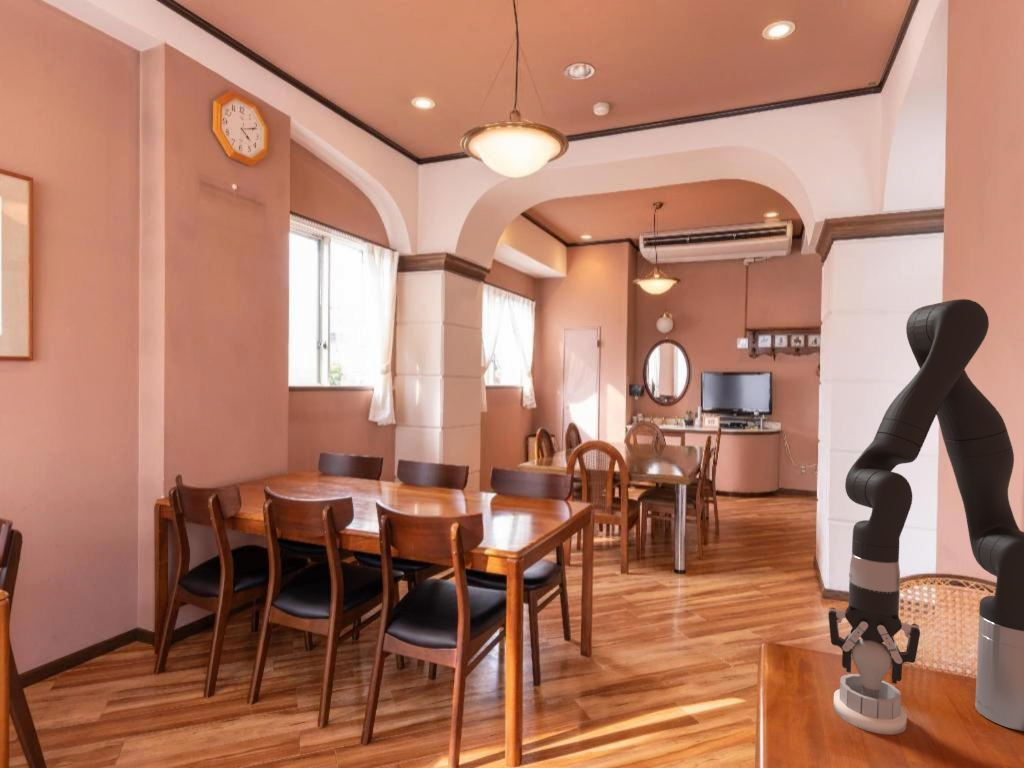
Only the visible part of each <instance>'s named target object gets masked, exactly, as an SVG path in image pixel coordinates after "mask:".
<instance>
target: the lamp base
mask: <svg viewBox="0 0 1024 768" xmlns="http://www.w3.org/2000/svg"><path fill="white" fill-rule="evenodd" d="M832 706H833V710H834V711H835V713H836V714H837V715H838V717H839V718H841V719H842V720H844V721H845V722H846V723H848V724H850V725H851V726H853V727H857V728H858V729H861V730H863V731H868V732H871V733H874V734H878V735H891V736H892V735H898V734H902V733H903V732H904V731H905V730H906V729H907V719H908V717H907V716H908V715H907V710H906V709H905V708H904V707H903V706H902V693H901V691H900V690H899V689H897V688H896V687H895V686H894V685H893V684H892V683H889V682H887V681H885V680H883V679H882V683H881V688H880V689H879V697H878V699H875V698H871V697H867V696H863V695H862V684H861V683H860V674H859V673H848V674H845V675H842V676H840V681H839V688H837V689H836V690H835V691H834V693H833V705H832Z"/></svg>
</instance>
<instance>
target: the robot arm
mask: <svg viewBox="0 0 1024 768" xmlns="http://www.w3.org/2000/svg"><path fill="white" fill-rule="evenodd" d="M989 322H990V321H989V316H988V313H987V311H986V309H985V308H984V307H983V306H982V305H981V304H980V303H979V302H976V301H974V300H971V299H968V298H967V299H966V298H962V299H961V298H960V299H951V300H947V301H943V302H938V303H932V304H929V305H925V306H921V307H918V308H916V309H915V310H913V312H911V314H910V315H909V317H908V319H907V321H906V327H905V329H906V337H907V341H908V345H909V346H910V350H911V352H912V354H913V357H914V358H915V361H916V363H917V365H918V367H919V370H918V372H916V374H915V375H914V376H913V378H912V379H911V380H910V381H909V383H908V384H907V385H905V386H904V388H902V390H901V391H900V392H899V393H898V394H897V395H896V396H895V398H894V399H893V400H892V402H891V403H890V405H889V406H888V408H887V409H886V411H885V413H884V415H883V417H882V419H881V422H880V423H879V424H880V425H879V426H878V428H877V431H876V433H875V436H874V438H873V441H871V443H870V444H869V445H868V446H867V447H866V448H865V450H863V452H862V453H861V454H860V456H859V457H858V458H857V459H856V461H855V462H854V463H853V464H852V465H851V467H850V469H849V470H848V472H847V475H846V477H845V482H844V483H845V485H844V486H845V492H846V496H847V497H848V498H849V500H850V501H852V502H854V503H855V504H857V505H860V506H862V507H863V506H864V507H867V508H870V509H872V510H871V513H870V517H869V519H865V520H860V521H857V522H855V524H854V526H853V528H852V540H851V541H852V543H851V558H850V564H849V573H848V578H849V581H848V582H849V583H848V584H849V585H848V589H849V590H848V605H847V608H846V609H845V610H842V609H841V610H839V609H836V608H835V607H830V608H829V609H828V616H827V617H828V623H829V625H828V626H829V634H830V643H831V645H833V646H837V647H838V648H840V649H841V650H842V655H841V656H842V657H841V658H842V659H841V660H842V661H841V665H842V668H843V669H845V672H846V673H848V674H852V673H851V672H852V647H853V645H854V644H855V643H856V642H857V641H858V640H859V639H861V638H862V639H865V640H874V641H876V642H879V643H884V644H885V645H886V646H887V648H888V650H889V651H890V653H891V656H892V665H891V684H894V685H897V683H898V682H901V680H902V677H903V664H905V663H910V664H913V663H915V662H916V659H917V653H918V648H919V647H918V646H919V643H920V638H921V630H920V626H919V625H918V624H917V623H912V624H909V623H905V622H902V621H901V619H900V617H899V616H900V615H899V612H900V611H899V610H900V590H901V589H900V587H901V570H900V560H899V559H900V538H901V536H902V535H901V534H902V532H903V529H904V527H905V524H906V521H907V518H908V515H909V512H910V510H911V508H912V504H913V491H912V488H911V485H910V483H909V480H907V478H906V477H905V476H904V475H902V474H900V473H898V472H894V471H893V470H894V469H895V468H896V466H898V465H902V464H903V465H904V464H909V463H913V462H914V461H915V460H916V459H917V458H918V457H919V454H920V452H921V450H922V447H923V445H924V443H925V441H926V439H927V436H928V433H929V432H930V429H931V426H932V424H933V422H934V420H935V418H937V421H938V423H939V427H940V428H939V429H940V432H941V435H942V440H943V443H944V446H945V448H946V453H947V456H948V458H949V461H950V464H951V467H952V470H953V474H954V477H955V481H956V484H957V488H958V490H959V494H960V496H961V499H962V500H961V501H962V504H963V508H964V514H965V520H966V524H967V525H966V526H967V531H968V537H969V543H970V547H971V552H972V555H973V557H974V559H975V561H976V563H977V564H978V565H979V566H980V567H981V568H982V569H983V570H985V571H986V572H988V573H989V574H990V575H993V576H995V577H996V583H995V593H994V595H988V596H984V597H982V598H981V599H980V602H979V609H978V610H979V613H978V614H979V615H978V636H977V659H976V660H977V662H976V680H975V681H976V683H975V684H976V685H975V686H976V687H975V703H974V704H975V707H974V708H975V710H976V711H977V712H978V713H979V714H980V715H982V717H984V718H985V719H988V720H989V721H991V722H993V723H995V724H997V725H1000V726H1002V727H1005V728H1009V729H1012V730H1016V731H1021V732H1024V531H1022V530H1021V529H1020V527H1019V526H1018V524H1017V521H1016V520H1015V516H1014V513H1013V510H1012V507H1011V503H1010V500H1009V486H1010V482H1011V478H1012V474H1013V470H1014V464H1015V455H1014V449H1013V446H1012V442H1011V438H1010V435H1009V432H1008V429H1007V426H1006V423H1005V420H1004V419H1003V417H1002V415H1001V413H1000V411H999V410H997V408H996V407H995V405H993V403H992V402H991V401H990V400H989V399H988V398H987V397H986V396H985V395H984V394H983V392H982V391H980V389H979V388H978V387H977V386H976V385H975V384H974V383H973V382H972V380H971V379H970V377H969V375H968V374H967V372H966V370H965V369H966V368H967V367H968V364H969V363H971V362H970V361H971V360H972V359H973V357H974V356H975V355H976V353H977V352H978V350H979V348H980V347H981V345H982V344H983V342H984V340H985V338H986V336H987V333H988V330H989V327H990V323H989ZM843 619H846V621H847V623H848V624H849V625H850V627H851V628H850V630H849V632H848V634H847V635H846V636H845V638H842V637H841V636H840V633H839V632H840V631H839V624H841V623H842V622H843ZM900 630H902V631H903V632H904V636H905V637H906V639H907V638H908V640H907V645H906V649H905V651H901V649H899V647H898V645H897V643H896V639H895V638H894V636H895V635H897V633H898V632H899V631H900Z"/></svg>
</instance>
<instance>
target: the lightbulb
mask: <svg viewBox="0 0 1024 768" xmlns="http://www.w3.org/2000/svg"><path fill="white" fill-rule="evenodd" d="M892 658H893V657H892V655H891V653H890V651H889V650H888V648H887V646H886V644H885V642H883V643H879V642H876V641H874V640H865V639H862V638H861V637H860V638H859V639H858V641H857V642H856V643H855V644H854V645H853V646H852V653H851V659H852V661H853V662H854V664H855V666H856V669H857V671H858V674H860V683H861V684H862V695H863V696H867V697H871V698H875V699H878V697H879V689H880V688H881V683H882V680H883V679H884V677H885V675H886V674H888V672H889V671H890V669H892Z"/></svg>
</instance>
